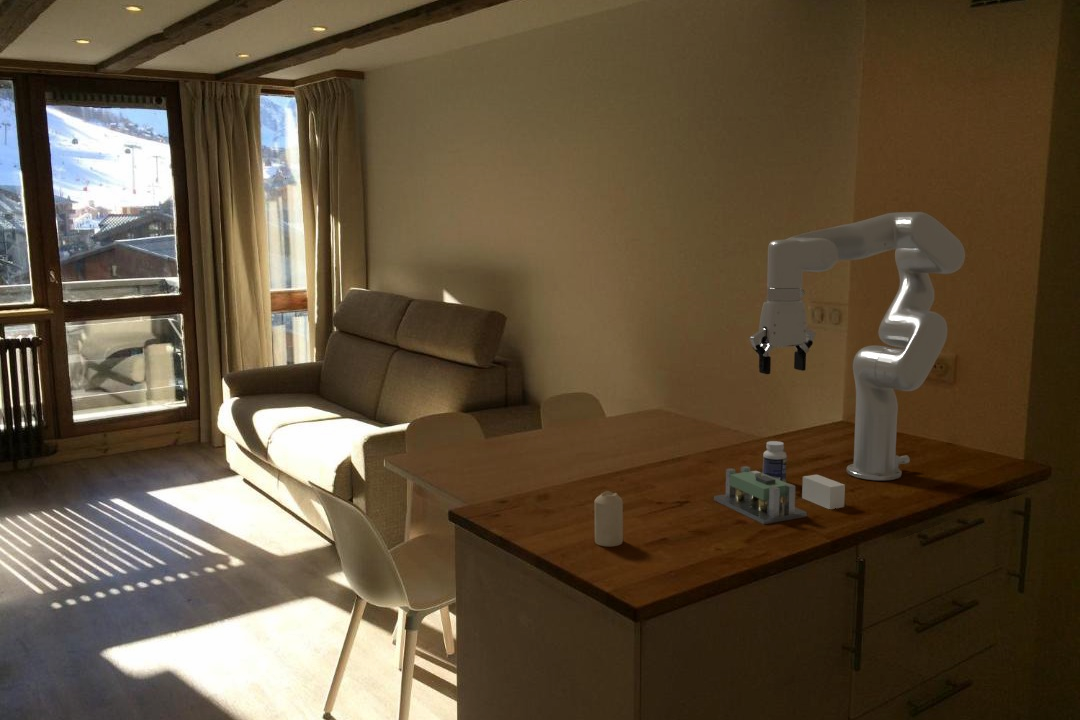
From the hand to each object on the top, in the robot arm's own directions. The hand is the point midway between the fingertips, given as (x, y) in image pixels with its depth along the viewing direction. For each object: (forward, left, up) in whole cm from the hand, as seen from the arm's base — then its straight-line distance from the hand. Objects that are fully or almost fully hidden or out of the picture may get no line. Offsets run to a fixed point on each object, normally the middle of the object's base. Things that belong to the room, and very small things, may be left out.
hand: (782, 371), depth 202 cm
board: (+11, +7, -24) cm, 28 cm away
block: (-4, +10, -28) cm, 30 cm away
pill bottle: (-4, -7, -28) cm, 30 cm away
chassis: (+11, +7, -28) cm, 31 cm away
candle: (+50, +11, -28) cm, 59 cm away
